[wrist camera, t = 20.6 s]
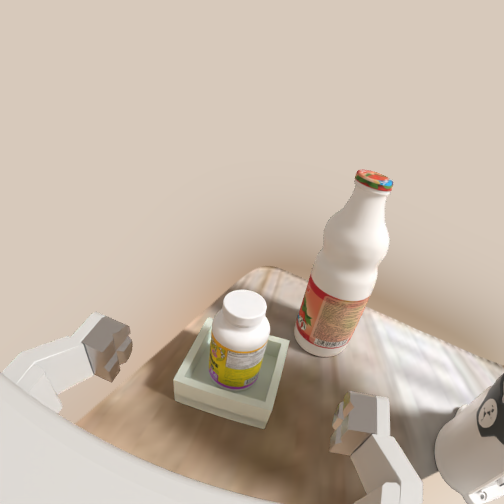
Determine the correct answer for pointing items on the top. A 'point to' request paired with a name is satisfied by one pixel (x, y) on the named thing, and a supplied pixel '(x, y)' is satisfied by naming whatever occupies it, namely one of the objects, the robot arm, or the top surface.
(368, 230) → the fruit juice
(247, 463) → the top surface
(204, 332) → the sage tray
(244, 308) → the supplement bottle
